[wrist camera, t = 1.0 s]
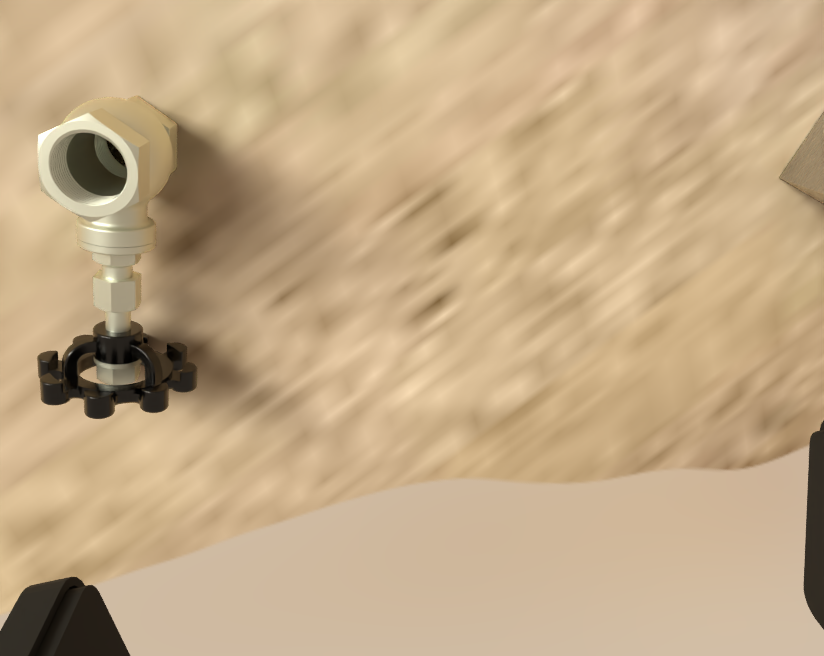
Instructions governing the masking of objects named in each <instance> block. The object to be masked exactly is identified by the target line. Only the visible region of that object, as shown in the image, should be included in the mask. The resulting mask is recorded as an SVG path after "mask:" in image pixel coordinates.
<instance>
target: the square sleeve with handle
mask: <svg viewBox="0 0 824 656" xmlns="http://www.w3.org/2000/svg"><path fill="white" fill-rule="evenodd" d="M779 178H780V179H782V180H784V181H785V182H787V183H789V184H790V185H792V186H794V187H796V188H797V189H799V190H801V191H802V192H804V193H806V194H808V195H809V196H811V197H813V198H815V199H816V200H818V201H820V202H821V203H823V204H824V112H823V114H822V115H821V117H820V118H819V120H818V121H817V123H816V124H815V126H814V127H813V129H812V130H811V132H810V133H809V135H808V136H807V137H806V139H805V140H804V142H803V143H802V145H801V146H800V148H799V149H798V151H797V152H796V154H795V155H794V157H793V158H792V160H791V161H790V162H789V164H788V165H787V167H786V168H785V170H784V171H783V173H782V174H781V176H780V177H779Z"/></svg>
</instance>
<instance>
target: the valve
mask: <svg viewBox="0 0 824 656" xmlns="http://www.w3.org/2000/svg"><path fill="white" fill-rule="evenodd" d="M106 140H108V141H110V142H111V143H112V144H113V145H114V146H115V147H116V148H117V149H118V150H119V152H120V153H121V155H122V157H123V159H124V161H125V164H126V167H125V166H123V165H122V164H120V163H119V162H118V161H117V160H116V159H115V158H114V157H113V155H112V154H111V153H110V151H109V148H108V146H107V142H106ZM38 169H39V180H40V187H41V191H42V192H43V193H45V194H46V195H47V196H49V197H50V198H51V199H53V200H54V201H56V202H57V203H59V204H60V205H62V206H63V207H65V208H66V209H68V210H70V211H71V212H73V213H75V214H76V215H78V216H79V217H78V218H77V219H76V233H77V244H78V246H79V247H80V248H82V249H84V250H86V251H89V252H92V258H93V260H94V261H95V262H97V263H99V264H102V270H99V271H98V272H97V273H96V274H95V276H94V277H93V296H94V306H95V307H97V308H98V309H101V310H103V311H105V320H106V321H103V322H100V323H98V324H97V325H95V326H94V328H93V335H81V336H77V337H75V338H74V339H73V344H72V345H71V346H70V347H69V348H68V349H67V350H66V351H65V353H64V355H63V359H62V361H60V360H58V352H57V351H47V352H43V353H41V354H39V355H38V357H37V360H38V376H39V378H40V391H41V400H42V402H43V403H45V404H48V405H61V404H64V403H67V402H68V401H69V400H70V399H72V398H80V399H83V400H84V412H85V415H86V416H88V417H90V418H93V419H103V418H107V417H109V416H111V415H112V414H113V413H114V411H115V405H117V404H122V403H139V404H140V408H141V409H142V410H143V411H145V412H149V413H158V412H162V411H164V410H166V409H167V407H168V401H169V389H172V390H174V391H177V392H190V391H192V390H194V389H195V388H196V386H197V366H196V365H195V364H193V363H189V362H187V347H186V346H185V345H184V344H181V343H167V352H166V353H164V354H161V353H159V352H157V351H154V350H153V349H152V348H151V347H150V346H148V336H147V335H146V334H144V333H143V327H142V326H141V325H140V324H138V323H136V322H134V321H131V311H133V310H136V309H137V308H138V307H139V305H140V303H141V274H140V273H137V272H134V271H133V267H132V266H133V265H135V264H137V263H138V262H139V261H140V259H141V254H142V253H146V252H149V251H151V250H153V249H154V248H155V246H156V222H155V221H154V220H153V219H151V218H150V217H147V210H148V202H149V201H150V200H151V199H153V198H154V197H155V196H156V195H157V194H158V193H159V192H160V191H161V190H162V189H163V187H164V186H165V185H166V183H167V181H168V179H169V177H170V174H171V173H172V172H174V171H175V170H176V169H177V123H175V122H174V121H173V120H171V119H170V118H168V117H167V116H166V115H164V114H163V113H161V112H160V111H159V110H157V109H156V108H154V107H153V106H152V105H150V104H149V103H147V102H146V101H144V100H143V99H142V98H140V97H139V96H134V97H131V98H128V99H122V98H114V97H104V98H98V99H93V100H90V101H88V102H85V103H83V104H81V105H80V106H78V107H76V108H75V109H74V110H73V111H72V112H71V113H70V114H68V115H67V117H66V118H65V119H64V121H63V122H62V124H61V125H60V126H57V127H55V128H53V129H51V130H49V131H46V132H44V133H42V134H40V135H38ZM140 364H141V365H144V366H145V380H144V381H141V382H138V383H133V382H135V381H136V380H137V378H138V377H139V374H140ZM94 366H97V379H98V380H100V381H101V382H103V383H106V384H109V385H104V384H97V383H93V382H90V381H87V380H85V379H83V378H82V377H81V376H79V375H80V374H81V373H82V372H83V371H85V370H87V369H89V368H91V367H94ZM180 370H182V371H180ZM60 380H61V381H60ZM130 383H133V384H130Z"/></svg>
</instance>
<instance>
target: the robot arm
mask: <svg viewBox="0 0 824 656" xmlns="http://www.w3.org/2000/svg"><path fill="white" fill-rule="evenodd" d="M804 594H805V598H806V601H807V604H808V607H809V608H810V610H811V612H812V614H813V616H814V617H815V619H816V620H817V621H818V623H819V624H820V625H821V627H822V628H823V629H824V421H823V422H822V424H821V428H820V431H817V432H815V433H813V434H812V436H811V438H810V448H809V472H808V496H807V519H806V544H805V568H804ZM0 656H130V654H129V652H128V650H127V648H126V646H125V644H124V642H123V640H122V638H121V636H120V634H119V632H118V630H117V628H116V626H115V624H114V622H113V620H112V617H111V615H110V614H109V612H108V609H107V607H106V605H105V603H104V601H103V599H102V597H101V595H100V593H99V591H98V590H97V588H96V587H94V586H93V585H87V586H85V585H84V583H83V582H82V581H81V580H80V579H78V578H77V577H69V578H64V579H59V580H55V581H50V582H45V583H40V584H36V585H31V586H29V587H27V588H26V589H25V590H24V591H23V592H22V593H21V595H20V596H19V598H18V600H17V602H16V604H15V605H14V607H13V609H12V611H11V613H10V614H9V616H8V618H7V620H6V622H5V623H4V625H3V627H2V629H1V631H0Z"/></svg>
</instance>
